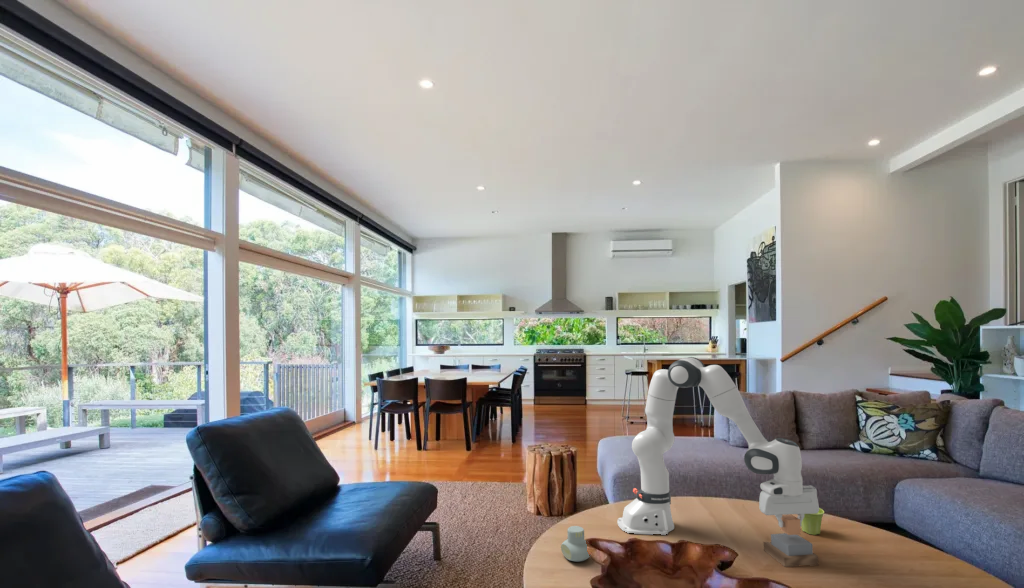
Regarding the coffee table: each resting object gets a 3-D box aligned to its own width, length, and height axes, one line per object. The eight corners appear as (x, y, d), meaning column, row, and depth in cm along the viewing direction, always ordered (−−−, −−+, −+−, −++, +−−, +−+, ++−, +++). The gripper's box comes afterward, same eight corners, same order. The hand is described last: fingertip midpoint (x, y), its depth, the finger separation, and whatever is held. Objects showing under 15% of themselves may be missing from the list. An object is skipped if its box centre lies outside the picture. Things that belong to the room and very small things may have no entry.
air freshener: (558, 553, 176) (557, 525, 177) (578, 549, 179) (577, 521, 180) (574, 567, 166) (573, 537, 167) (594, 562, 169) (594, 532, 170)
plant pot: (823, 529, 194) (822, 506, 195) (827, 538, 186) (826, 515, 186) (796, 525, 198) (795, 503, 199) (798, 534, 190) (797, 511, 190)
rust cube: (788, 535, 170) (787, 520, 170) (780, 529, 174) (779, 515, 174) (800, 534, 170) (800, 519, 170) (792, 529, 174) (791, 514, 175)
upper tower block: (788, 556, 166) (788, 545, 167) (771, 544, 175) (770, 534, 176) (812, 554, 168) (812, 543, 168) (794, 542, 177) (793, 532, 177)
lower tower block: (784, 568, 165) (784, 557, 165) (763, 551, 177) (763, 541, 177) (818, 566, 166) (818, 556, 166) (795, 550, 178) (795, 540, 178)
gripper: (810, 482, 177) (811, 521, 176) (755, 484, 175) (757, 523, 175) (822, 488, 171) (824, 528, 170) (766, 490, 169) (768, 531, 168)
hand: (789, 526), depth 172 cm, fingers closed on rust cube, 4 cm apart
